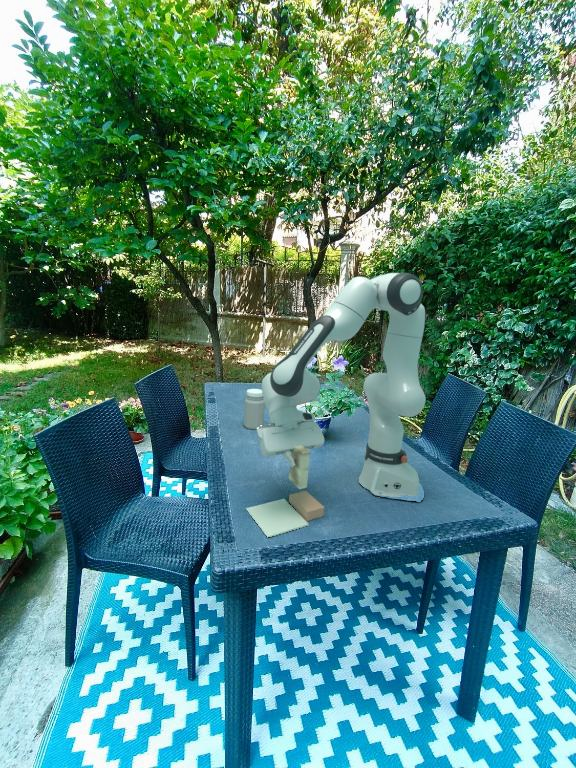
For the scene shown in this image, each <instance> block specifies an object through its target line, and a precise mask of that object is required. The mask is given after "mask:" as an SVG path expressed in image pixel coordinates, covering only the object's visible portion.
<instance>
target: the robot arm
mask: <svg viewBox="0 0 576 768" xmlns="http://www.w3.org/2000/svg"><path fill="white" fill-rule="evenodd" d="M422 298H423V285H422V282H421V280H420V279H419V277H417V276H416V275H415V274H412V273H408V272H401V273H400V272H389V273H386V274H385V273H384V274H382V275H381V274H380V275H379V274H378V275H374V276H371V277H370V278H367V277H364V276H356V277H353V278H351V279H350V280H349V281H348V282H347V284H345V286H344V287H343V288H342V289H341V290H340V292H339V293H338V295H337V296H336V297H335V299H334V300H333V301H332V304H331V305H330V306H329V308H328V309H327V310H326V311H325V313H324V314H323V315H321V316H319V317H317V318H316V320H314V322H313V323H312V324H311V325H310V326H309V327H308V328H307V329H306V331H305V332H304V333H303V335H302V336H301V337H300V338H299V340H298V341H297V342H296V344H295V345H294V346H293V348H292V349H290V351H289V353H288V354H286V355H285V356H284V357H283V358H282V359H281V360H279V362H277V363H276V364H275V365H274V367H273V368H272V370H271V372H269V373H267V375H265V376H264V377H263V379H262V381H261V390H262V393H263V399H264V401H265V407H266V408H267V410H268V416H269V421H270V423H267V424H264V425H260V426H259V427H258V428H257V430H256V431H255V432H256V434H257V438H258V440H259V448H260V452H261V455H263V456H264V458H266V457H272V456H279V455H283V458H284V459H285V460H286V461H287V462H288V463H289V467H290V466H291V468H293V467H296V466H298V463H297V460H296V459H295V460H294V459H293V458H292V457H291V450H293V449H294V446H300V445H302V446H303V447H304V448H306V449H307V450H308V451H310V450H312V449H319V448H320V447H322V446H323V445H324V444H325V441H326V440H325V436H324V434H323V432H322V431H323V430H321V427H320V426H319V423H318V422H316V421H315V420H316V416H315V414H313V413H311V412H305V411H302V410H298V408H297V406H301V405H304V404H306V403H307V404H308V403H310V402H312V401H314V400H315V399H316V398H317V397H318V396H319V394H320V392H321V381H320V379H319V377H318V376H316V375H315V374H314V373H313V372H311V371H310V370H307V367H308V366H309V364H310V362H311V361H312V360H313V359H314V358H315V357H316V355H317V354H318V353H319V350H321V349H322V347H323V346H324V345H325V344H327V343H330V342H332V341H333V342H334V341H338V342H343V341H347V340H350V339H352V338H353V337H354V336H356V334H357V333H358V332H359V330H360V329H361V327H362V326H363V325H364V323H365V321H366V320H367V319H368V316H369V315H370V313H371V312H372V311H373V310H381V311H385V312H386V311H387V313H388V315H389V324H388V327H387V329H386V330H387V332H386V336H385V340H384V346H383V349H382V350H383V351H382V359H383V361H384V363H385V367H386V372H373V373H371V374H369V375H367V377H366V378H365V380H364V382H363V392H364V394H365V397H366V400H367V405H368V410H369V412H368V413H369V419H370V421H369V423H370V424H369V433H368V442H367V444H366V446H365V452H364V464H363V465H362V466H363V468H362V469H361V473H360V475H359V477H358V479H359V481H358V483H360V484H361V485H362V486H363V487H365V488H367V489H369V490H370V491H371V492H372V493H373V494H374V495H378V496H389V497H401V496H402V495H403V496H404V495H408V496H417V495H418V493H419V482H420V477H419V474H418V471H417V470H416V469H415V468H414V467H413V466H411V465H410V463H408V461H409V460H408V459H409V458H408V456H407V453H406V450H405V449H402V446H403V445H402V444H403V438H404V433H405V431H404V425H403V423H402V420H401V418H400V416H401V417H402V416H403V417H407V418H412V417H416V416H418V415H419V414H420V413H421V412H422V411H423V409H424V408H425V405H426V402H427V401H426V400H427V399H426V394H425V393H424V390H423V389H422V387H421V384H420V378H419V370H418V367H419V366H418V365H419V364H418V363H419V362H418V361H419V356H420V351H421V346H422V340H423V336H424V330H425V323H426V322H425V321H426V310H425V306H424V305H423V304H422V300H423V299H422ZM360 484H359V485H360ZM361 485H360V486H361ZM362 486H361V487H362ZM363 487H362V488H363ZM365 488H364V489H365ZM379 493H381V494H379ZM398 495H399V496H398ZM400 495H401V496H400ZM403 496H402V497H403ZM406 497H407V496H406Z"/></svg>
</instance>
